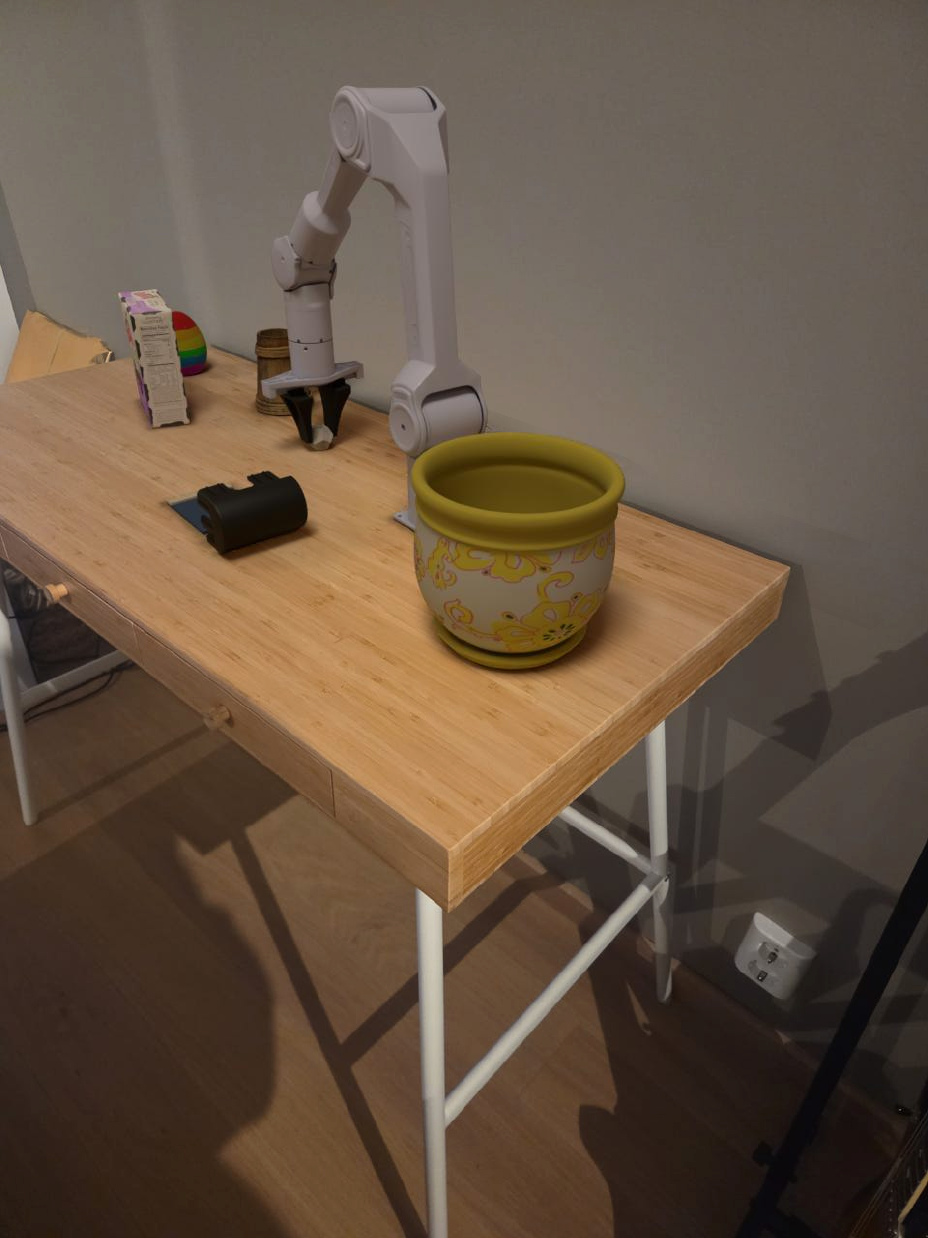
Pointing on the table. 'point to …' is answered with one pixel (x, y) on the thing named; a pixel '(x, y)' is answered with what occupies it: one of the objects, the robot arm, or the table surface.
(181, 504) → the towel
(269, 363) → the wooden mug
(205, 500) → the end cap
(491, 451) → the flowerpot
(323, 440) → the game die
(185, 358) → the decorative egg
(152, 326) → the candy box
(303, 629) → the table surface
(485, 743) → the table surface
